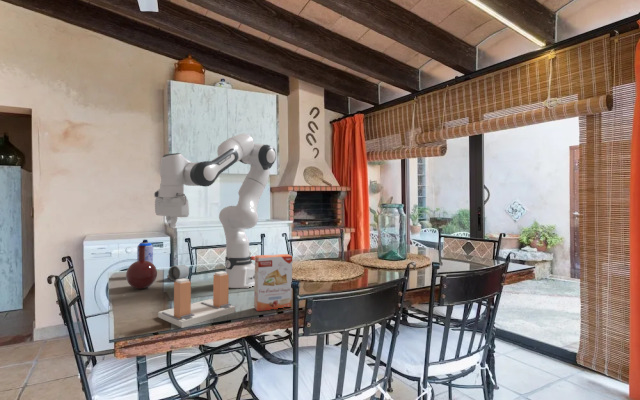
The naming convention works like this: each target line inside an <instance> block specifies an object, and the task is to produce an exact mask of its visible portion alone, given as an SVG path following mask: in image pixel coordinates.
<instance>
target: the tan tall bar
mask: <svg viewBox="0 0 640 400" xmlns="http://www.w3.org/2000/svg"><path fill="white" fill-rule="evenodd" d="M212 283H213V289H212V290H213V297H212V299H213V306H216V307H219V308H220V306H221V305H225V304H228V303H229V293H230V292H229V275H228V274H227V272H225V271H222V270H221V271H216V272H215V273H214V274H213V282H212Z"/></svg>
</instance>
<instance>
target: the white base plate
mask: <svg viewBox="0 0 640 400" xmlns="http://www.w3.org/2000/svg"><path fill="white" fill-rule="evenodd" d="M233 313H236V306H234V305H232V303H229V302H228V304H225V305H221V306H220V308H219V307H216V306H213V298H208V299H205V300H200V301H196V302H191V314H188V315H184V316H181V319H179V318H177V317H175V316H174V307H173V308H169V309H165V310H161V311H158V313H157V315H158V316H157V318H159V319H161V320H163V321H166V322H167V323H170V324H172V325H174V326H177V327H179V328H180V329H181V328H182V329H183V328H186V327H190V326H194V325H196V324H199V323H203V322H204V323H205V322H207V321H210V320H214V319H217V318H221V317H224V316H227V315H230V314H233Z"/></svg>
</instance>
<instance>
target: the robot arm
mask: <svg viewBox="0 0 640 400" xmlns="http://www.w3.org/2000/svg"><path fill="white" fill-rule="evenodd" d="M276 151H277V150H276V149H275V147H274V146H272V145H270V144H262V143H255V142H254V139H253V137H252V136H251V135H249V134H248V133H239V134H237V135H234V136H231V137H230V138H228V139H226V140H224V141H223V142H221V143H219V145H218V147H217V152H216V153H217V156H216V157H214V158H213V159H212V160H207V161H206V160H205V161H200V162H193V161H191V160H189V159H187V158H186V157H185V156H183V154H182V153H179V152H177V153H175V152H174V153H167V154H164V155H162V157H161V160H160V166H159V167H160V168H159V175H160V184H159V188H158V190H156V191H154V193H153V197H154V198H155V199H154V213H155V214H156V216H163V217H165V220H166V223H167V228H170V229H174V228H176V224H177V221H178V218H189V215H190V206H189V200H188V198H187V196H186V195H185V193H184V189H185V188H184V186H190V187H191V186H193V187H194V186H195V187H198V186H199V187H210V186H212V185H213V184H214V183H215V182H216V180H217V179H218V177H219V176H220V175H221V174H222V173H223V172H225V171H226V170H227V169H228V168H230V167H232V166H233V165H234V164H236V163H237V162H240V163H242V164H245V165H250V168H249V171H248V173H247V174H246V176H245V178H244V179H243V182H242V184H241V185H240V188H239V189H238V191H237V193H238V201H237V204H236V205H229V206H226V207H223V208H222V209H221V210H220V212H219V215H218V219H219V221H220V223H221V225H222V228H223V231H224V236H225V246H226V247H225V249H226V250H225V251H226V255H225V258H224V259H225V260H224V261H225V263H224V264H225V271H224V272H227V274H228V275H229V288H230V289H239V288H240V289H244V288H245V289H249V287H251V288H253V287H252V286H254V287H255V263H253V262H252V261H255V256H256V255H254V256H253V255H252V256H250V240H249V237H248V236H247V234H246V230H247V229H253V228H254V227H255V226H256V225H257V223H258V222H259V214H258V205H259V201H260V200H261V198H262V195H263V193H264V191H265V188H266V187H267V184H268V181H269V178H270V174H271V172H270V169H271V168H272V167H273V165H274V164H275V162H276V160H277V152H276Z"/></svg>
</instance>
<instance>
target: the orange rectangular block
mask: <svg viewBox="0 0 640 400" xmlns="http://www.w3.org/2000/svg"><path fill="white" fill-rule="evenodd" d="M191 304H192V283H191V281H190V279H189V278H183V279H178V280H176V281H173V308H174V316H175V317H177V318H179V319H181V316H184V315H188V314H191Z"/></svg>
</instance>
